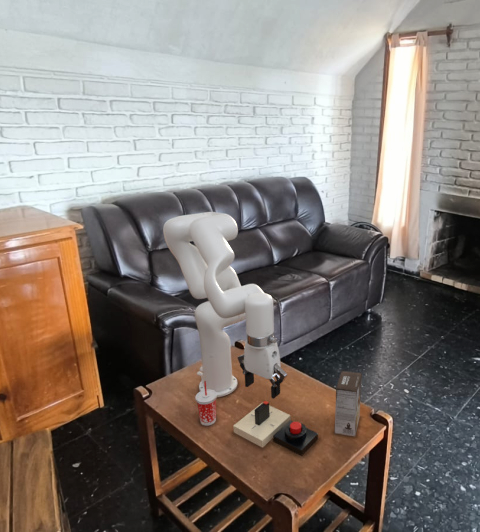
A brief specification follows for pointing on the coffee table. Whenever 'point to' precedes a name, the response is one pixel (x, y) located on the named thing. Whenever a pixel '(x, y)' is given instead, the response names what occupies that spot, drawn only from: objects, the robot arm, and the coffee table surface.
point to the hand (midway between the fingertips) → (262, 390)
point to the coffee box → (348, 403)
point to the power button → (295, 427)
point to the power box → (295, 439)
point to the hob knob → (262, 413)
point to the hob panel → (261, 426)
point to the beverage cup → (206, 406)
